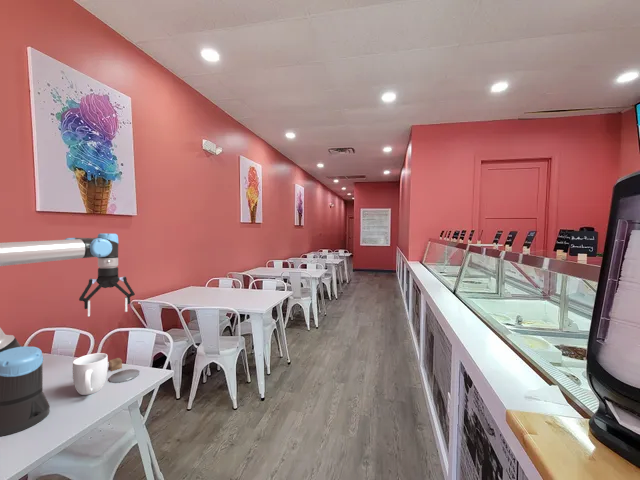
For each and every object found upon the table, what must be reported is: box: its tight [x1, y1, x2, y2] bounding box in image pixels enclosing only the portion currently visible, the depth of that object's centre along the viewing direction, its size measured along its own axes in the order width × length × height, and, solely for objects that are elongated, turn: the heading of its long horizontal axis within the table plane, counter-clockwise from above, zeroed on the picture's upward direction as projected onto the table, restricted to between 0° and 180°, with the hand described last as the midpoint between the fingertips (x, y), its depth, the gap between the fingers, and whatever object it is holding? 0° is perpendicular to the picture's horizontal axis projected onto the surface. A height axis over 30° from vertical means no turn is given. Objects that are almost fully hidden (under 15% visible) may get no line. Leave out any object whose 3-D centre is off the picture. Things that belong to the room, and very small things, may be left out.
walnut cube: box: [108, 357, 123, 372], centre depth 133 cm, size 4×4×4 cm
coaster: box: [108, 368, 140, 384], centre depth 125 cm, size 11×11×1 cm
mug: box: [72, 352, 109, 396], centre depth 112 cm, size 15×11×13 cm
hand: (108, 313), depth 130 cm, fingers open, 13 cm apart
